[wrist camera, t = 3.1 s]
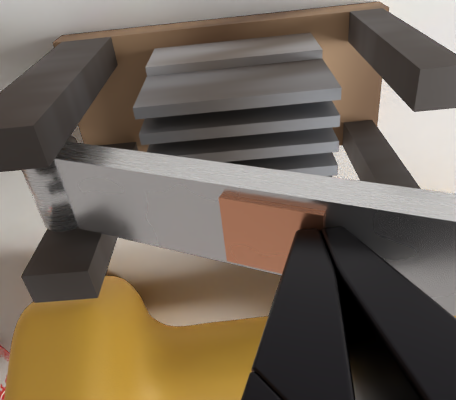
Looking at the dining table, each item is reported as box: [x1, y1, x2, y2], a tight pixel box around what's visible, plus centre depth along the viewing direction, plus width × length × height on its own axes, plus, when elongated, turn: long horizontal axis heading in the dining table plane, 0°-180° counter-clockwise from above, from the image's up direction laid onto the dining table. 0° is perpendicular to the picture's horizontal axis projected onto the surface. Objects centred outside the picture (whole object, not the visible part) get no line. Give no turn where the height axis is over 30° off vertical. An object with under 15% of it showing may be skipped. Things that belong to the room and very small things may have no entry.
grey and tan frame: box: [0, 2, 456, 303], centre depth 13 cm, size 11×5×8 cm, turn 96°
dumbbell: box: [4, 276, 456, 400], centre depth 18 cm, size 19×9×8 cm, turn 98°
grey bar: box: [22, 136, 456, 316], centre depth 9 cm, size 10×2×1 cm, turn 96°
